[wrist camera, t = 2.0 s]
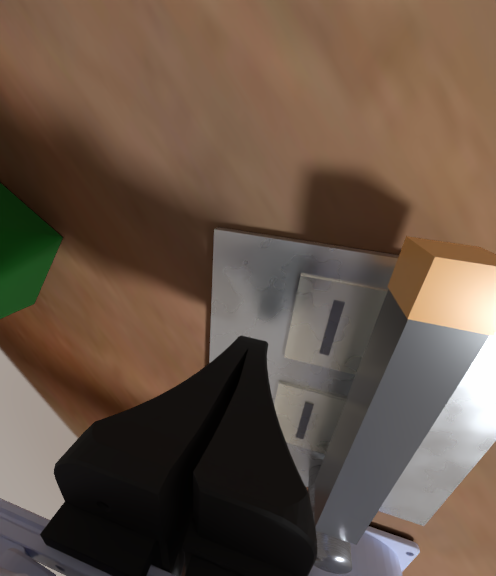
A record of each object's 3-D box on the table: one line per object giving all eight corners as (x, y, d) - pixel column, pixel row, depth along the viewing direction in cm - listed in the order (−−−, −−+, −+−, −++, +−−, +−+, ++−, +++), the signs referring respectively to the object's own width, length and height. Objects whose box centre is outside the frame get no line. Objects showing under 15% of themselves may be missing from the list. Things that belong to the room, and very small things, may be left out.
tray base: (420, 515, 18) (454, 629, 13) (208, 445, 21) (179, 520, 16) (602, 286, 10) (835, 379, 5) (218, 226, 13) (165, 255, 8)
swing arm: (351, 493, 15) (357, 546, 13) (313, 480, 16) (313, 530, 14) (478, 246, 9) (534, 272, 6) (406, 236, 9) (435, 256, 7)
